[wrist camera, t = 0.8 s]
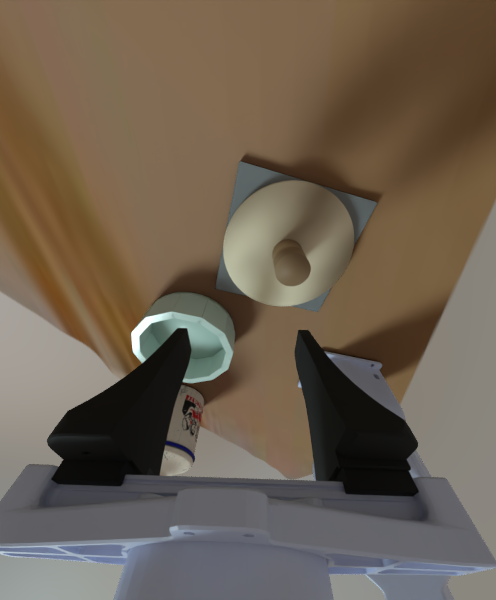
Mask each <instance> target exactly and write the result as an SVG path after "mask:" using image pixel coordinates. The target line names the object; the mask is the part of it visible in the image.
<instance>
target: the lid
mask: <svg viewBox="0 0 496 600" xmlns="http://www.w3.org/2000/svg"><path fill="white" fill-rule="evenodd" d="M353 247H354V228H353V224H352V220H351V218H350V215H349V213H348V211H347V209H346V208H345V206H344V205H343V203H342V202H341V201H340V200H339V199H338V198H337V197H336V196H335V195H334V194H333V193H331V192H330V191H328V190H327V189H325V188H323V187H321V186H319V185H316V184H313V183H310V182H306V181H299V180H288V181H280V182H276V183H272V184H270V185H267V186H265V187H263V188H261V189H259V190H257V191H256V192H254V193H253V194H252V195H250V196H249V197H248V198H247V199H246V200H245V201H244V202H243V203H242V204H241V205H240V206H239V207H238V208H237V210H236V211H235V213H234V214H233V216H232V218H231V220H230V222H229V225H228V227H227V230H226V233H225V237H224V244H223V255H224V262H225V265H226V269H227V271H228V273H229V276H230V277H231V279H232V281H233V282H234V283H235V285H236V286H237V287H238V288H239V289H240V290H241V291H242V292H243V293H244V294H246V295H247V296H249V297H250V298H252V299H254V300H256V301H258V302H261V303H264V304H267V305H273V306H292V305H298V304H302V303H305V302H308V301H310V300H313V299H315V298H317V297H319V296H320V295H322V294H323V293H325V292H326V291H327V290H329V289H330V288H331V287H332V286H333V285H334V284H335V283H336V282H337V281H338V280H339V278H340V277H341V276H342V274H343V273H344V271H345V270H346V268H347V266H348V264H349V262H350V259H351V256H352V252H353Z"/></svg>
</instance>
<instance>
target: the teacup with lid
mask: <svg viewBox="0 0 496 600" xmlns="http://www.w3.org/2000/svg"><path fill="white" fill-rule="evenodd" d="M203 408H204V399H203V397H202V395H201V394H200V393H199V392H198V391H196V390H195V389H193V388H191V387H189V386H185V385H181V388H180V390H179V393H178V396H177V399H176V402H175V406H174V410H173V414H172V418H171V422H170V426H169V431H168V435H167V440H166V445H165V449H164V454H163V459H162V465H161V470H160V476H173V475H176V474H181V473H184V472H186V471H188V470H189V469H190V468H191V467H192V465H193V462H194V460H195V456H194V452H195V447H196V442H197V437H198V431H199V427H200V422H201V418H202V413H203Z"/></svg>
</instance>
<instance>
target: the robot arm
mask: <svg viewBox="0 0 496 600" xmlns="http://www.w3.org/2000/svg"><path fill="white" fill-rule="evenodd" d="M191 352H192V349H191V344H190V339H189V334H188V330H187V328H177V329H176V330H175V331H174V332H173V333H172V334H171V336H170V337H169V338H168V339H167V340H166V341H165V342H164V343H163V344H162V345H161V346H160V347H159V348H158V349H157V350H156V351H155V352H154V353H153V354H152V355H151V356H150V357H149V358H148V359H146V360H145V361H144V362H143V363H142V364H141V365H140V366H138V367H137V368H136V369H135V370H133V371H132V372H131V373H130V374H128V375H127V376H126V377H124V378H123V379H121V380H120V381H118V382H117V383H116V384H114V385H113V386H111V387H110V388H108V389H106V390H105V391H103V392H102V393H100V394H98V395H97V396H95V397H93V398H91V399H90V400H88V401H86V402H84V403H83V404H81V405H78V406H77V407H75V408H73V409H71V410H69V411H68V412H67V413H66V414H65V415H64V417H63V418H62V419H61V421H60V422H59V423H58V425H57V426H56V427H55V429H54V430H53V432H52V433H51V434H50V436H49V437H48V439H47V443H48V446H49V447H50V448H51V449H52V450H53V451H54V452H55V453H57V454H58V455H59V456H60V457H61V458H62V459H64V460H63V461H62V463H61V464H60V466H59V467H57V466H53V465H39V464H29V465H27V466H26V467H25V469H24V470H23V471H22V473H21V474H20V475H19V477H18V478H17V479H16V481H15V482H14V484H13V485H12V486H11V487H10V489H9V490H8V492H7V493H6V494H5V496H4V497H3V498H2V500H1V501H0V554H2V555H6V556H9V557H26V558H43V559H57V560H70V561H81V562H93V563H105V564H117V565H124V568H123V572H122V575H121V578H120V581H119V584H118V587H117V590H116V594H115V597H114V600H333V594H332V589H331V583H330V577H329V574H364V575H365V576H367V577H368V578H369V579H370V580H371V581H372V582H374V583H375V584H376V585H377V586H378V587H379V588H380V589H381V591H382V592H383V593H384V596H385V599H386V600H454V598H453V596H452V594H451V592H450V590H449V588H448V586H447V584H448V581H449V579H450V576H460V575H465V574H470V573H475V572H480V571H484V570H489V569H494V568H496V560H495V559H494V557H493V555H492V554H491V552H490V551H489V549H488V547H487V545H486V544H485V542H484V540H483V539H482V537H481V535H480V534H479V532H478V531H477V529H476V527H475V525H474V524H473V522H472V520H471V519H470V517H469V515H468V514H467V512H466V510H465V509H464V507H463V505H462V504H461V502H460V500H459V498H458V497H457V495H456V494H455V492H454V490H453V489H452V487H451V485H450V483H449V482H448V480H447V479H445V478H438V477H431V475H430V474H429V472H428V470H427V468H426V467H425V465H424V463H423V461H422V459H421V458H420V456H419V455H418V453H417V451H416V449H417V447H418V442H417V440H416V438H415V436H414V435H413V433H412V431H411V429H410V428H409V426H408V425H407V423H406V420H405V416H404V413H403V410H402V408H401V406H400V404H399V403H398V401H397V399H396V398H395V396H394V394H393V393H392V391H391V389H390V387H389V386H388V384H387V382H386V381H385V379H384V377H383V376H382V374H381V372H380V368H381V367H382V364H381V363H380V362H375V361H371V360H366V359H361V358H356V357H351V356H346V355H341V354H336V353H331V352H327V351H323V350H322V348H321V347H320V346H319V344H318V343H317V342H316V340H315V339H314V337H313V336H312V335H311V333H310V332H309V331H308V330H298V335H297V341H296V347H295V360H296V367H297V371H298V375H299V379H300V381H299V382H298V386H299V387H301V388H302V391H303V395H304V399H305V403H306V408H307V415H308V421H309V428H310V435H311V443H312V451H313V459H314V461H313V477H314V481H304V480H274V479H271V480H270V479H244V478H242V479H241V478H212V477H184V476H160V470H161V465H162V459H163V454H164V449H165V445H166V440H167V435H168V431H169V426H170V422H171V418H172V414H173V410H174V406H175V402H176V399H177V396H178V393H179V390H180V388H181V385H182V382H183V379H184V377H185V374H186V371H187V368H188V365H189V361H190V356H191Z"/></svg>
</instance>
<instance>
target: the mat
mask: <svg viewBox="0 0 496 600" xmlns="http://www.w3.org/2000/svg"><path fill="white" fill-rule="evenodd" d="M288 180H299V181H305V180H301V179H298V178H295V177H291V176H288V175H285V174H281V173H278V172H275V171H271V170H268V169H265V168H262V167H258V166H255V165H252V164H248V163H245V162H242V161H240V162H239V167H238V172H237V177H236V182H235V187H234V193H233V198H232V203H231V208H230V213H229V219H228V224H227V227H228V225H229V222H230V220H231V218H232V216H233V214H234V213H235V211H236V210H237V208H238V207H239V206H240V205H241V204H242V203H243V202H244V201H245V200H246V199H247V198H248V197H249V196H250V195H252V194H253V193H254V192H256V191H257V190H259V189H261V188H263V187H265V186H267V185H270V184H272V183H276V182H280V181H288ZM306 182H308V181H306ZM310 183H311V182H310ZM313 184H315V183H313ZM316 185H318V184H316ZM319 186H321V185H319ZM321 187H323V188H325V189H327V190H328V191H330V192H331V193H333V194H334V195H335V196H336V197H337V198H338V199H339V200H340V201H341V202H342V203H343V205H344V206H345V208H346V209H347V211H348V213H349V215H350V218H351V220H352V224H353V228H354V245H355V243H356V241H357V239H358V238H359V236H360V234H361V232H362V230H363V228H364V227H365V225H366V223H367V221H368V219H369V217H370V216H371V214H372V212H373V210H374V208H375V207H376V205H377V202H375V201H371V200H368V199H365V198H361V197H358V196H355V195H351V194H348V193H345V192H341V191H338V190H335V189H331V188H328V187H325V186H321ZM226 230H227V229H226ZM215 289H218V290H222V291H227V292H231V293H236V294H240V295H244V296H247V295H246V294H244V293H243V292H242V291H241V290H240V289H239V288H238V287H237V286H236V285H235V283H234V282H233V281H232V279H231V277H230V276H229V273H228V271H227V269H226V265H225V262H224V255H223V250H222V255H221V260H220V265H219V270H218V276H217V281H216V286H215ZM330 289H331V288H330ZM330 289H329V290H327V291H326V292H325V293H323V294H322V295H320V296H319V297H317V298H315V299H313V300H310V301H308V302H305V303H302V304H298V305H292V306H293V307H297V308H302V309H306V310H311V311H315V312H318V311H319V309H320V307H321V305H322V303H323V302H324V300H325V298H326V296H327V294H328V292H329V291H330Z"/></svg>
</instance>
